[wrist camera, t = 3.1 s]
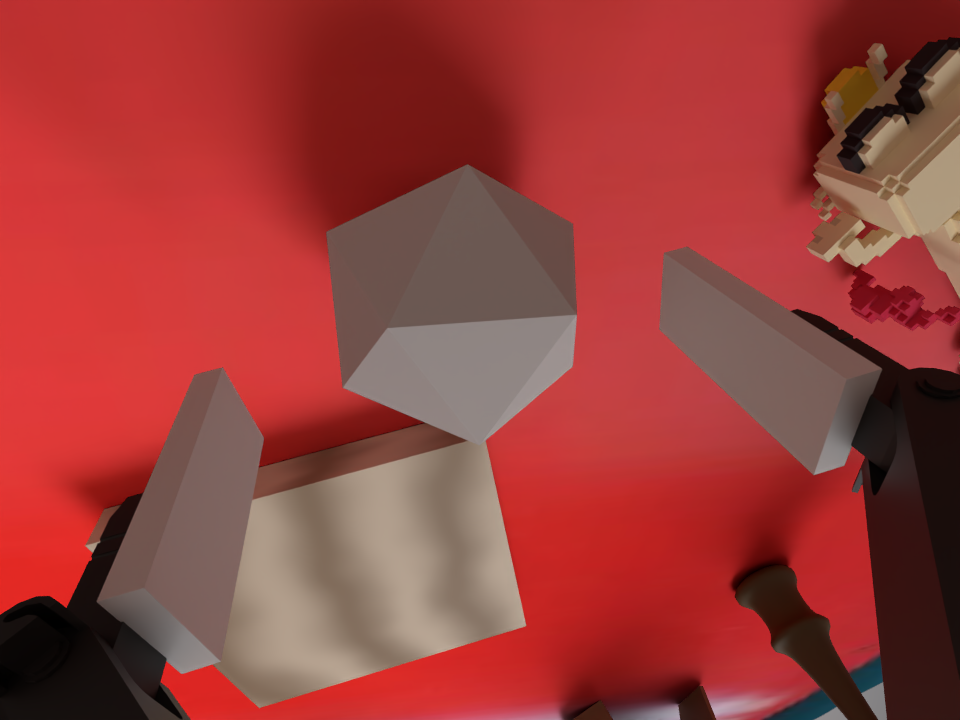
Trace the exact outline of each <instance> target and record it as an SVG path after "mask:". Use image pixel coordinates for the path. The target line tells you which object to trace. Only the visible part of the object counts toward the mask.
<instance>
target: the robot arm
mask: <svg viewBox="0 0 960 720" xmlns="http://www.w3.org/2000/svg"><path fill="white" fill-rule="evenodd" d="M659 330H660V331H661V332H663V333H664V334H665V335H666V336H667V337H668V338H669V339H670V340H671V341H672V342H673V343H674V344H675V345H676V346H677V347H678V348H679V349H681V350H682V351H683V352H684V353H685V354H686V355H687V356H688V357H689V358H690V359H691V360H692V361H693V362H694V363H695V364H696V365H697V366H699V367H700V368H701V369H702V370H703V371H704V372H705V373H706V374H707V375H708V376H709V377H710V378H711V379H712V380H713V381H714V382H715V383H717V384H718V385H719V386H720V387H721V388H722V389H723V390H724V391H725V392H726V393H727V394H728V395H729V396H730V397H731V398H732V399H734V400H735V401H736V402H737V403H738V404H739V405H740V406H741V407H742V408H743V409H744V410H745V411H746V412H747V413H748V414H749V415H750V416H752V417H753V418H754V419H755V420H756V421H757V422H758V423H759V424H760V425H761V426H762V427H763V428H764V429H765V430H766V431H767V432H768V433H770V434H771V435H772V436H773V437H774V438H775V439H776V440H777V441H778V442H779V443H780V444H781V445H782V446H783V447H784V448H785V449H786V450H788V451H789V452H790V453H791V454H792V455H793V456H794V457H795V458H796V459H797V460H798V461H799V462H800V463H801V464H802V465H803V466H804V467H806V468H807V469H808V470H809V471H810V472H811V473H812V474H813V475H816V474H819V473H822V472H825V471H829V470H832V469H835V468H838V467H841V466H844V465H845V462H846V460H847V457H848V455H849V452H850V450H851V447H852V446H853V447H854V448H855V449H857V450H858V451H859V452H860V453H861V454H863V455H864V456H865V459H864V461H863V463H862V466H861V468H860V470H859V473H858V475H857V477H856V480H855V482H854V485H853V489H852V492H856V493H858V491H859V489H860V487H861V485H863V490H864V500H865V509H866V519H867V529H868V538H869V548H870V558H871V568H872V577H873V587H874V597H875V606H876V616H877V626H878V636H879V645H880V655H881V665H882V675H883V684H884V694H885V703H886V713H887V720H960V375H958V374H956V373H953V372H951V371H946V370H941V369H936V368H915V369H910V370H909V369H907V368H906V367H904V366H902V365H900V364H899V363H897V362H895V361H894V360H892V359H890V358H889V357H887V356H885V355H884V354H882V353H880V352H879V351H877V350H875V349H874V348H872V347H870V346H869V345H867V344H865V343H864V342H862V341H860V340H859V339H857V338H856V339H854V338H853V336H852V335H850V334H849V333H847V332H845V331H844V330H842V329H841V330H839V329H838V327H837V326H835V325H834V324H832V323H830V322H829V321H827V320H825V319H824V318H822V317H820V316H817V315H814V314H811V313H808V312H805V311H802V310H799V309H796V310H792V311H789V310H788V309H786V308H784V307H783V306H781V305H780V304H778V303H776V302H775V301H773V300H772V299H770V298H768V297H767V296H765V295H764V294H762V293H760V292H759V291H757V290H756V289H754V288H752V287H751V286H749V285H748V284H746V283H744V282H743V281H741V280H740V279H738V278H737V277H735V276H733V275H732V274H730V273H729V272H727V271H725V270H724V269H722V268H721V267H719V266H717V265H716V264H714V263H713V262H711V261H709V260H708V259H706V258H705V257H703V256H701V255H700V254H698V253H697V252H695V251H693V250H692V249H690V248H689V247H684V248H681V249H677V250H673V251H669V252H665V253H664V259H663V276H662V293H661V310H660V327H659ZM263 442H264V437H263V435H262V434H261V432H260V430H259V429H258V427H257V425H256V423H255V422H254V420H253V418H252V417H251V415H250V413H249V411H248V410H247V408H246V406H245V405H244V403H243V401H242V399H241V398H240V396H239V394H238V393H237V391H236V389H235V388H234V386H233V384H232V382H231V381H230V379H229V377H228V376H227V374H226V372H225V370H224V369H223V367H222V368H219V369H215V370H211V371H207V372H203V373H199V374H195V375H194V377H193V379H192V382H191V384H190V386H189V389H188V391H187V393H186V396H185V398H184V400H183V403H182V405H181V407H180V410H179V412H178V414H177V416H176V419H175V421H174V423H173V426H172V428H171V430H170V433H169V435H168V437H167V440H166V442H165V444H164V447H163V449H162V451H161V454H160V456H159V458H158V461H157V463H156V465H155V467H154V470H153V472H152V474H151V477H150V479H149V481H148V484H147V486H146V488H145V491H144V493H141V494H137V495H134V496H130V497H128V498H127V499H126V500H125V501H124V502H123V503H122V504H121V506H120V507H119V508H118V509H117V510H116V511H115V513H114V514H113V515H112V516H111V517H110V518H109V520H108V523H107V525H106V527H105V529H104V531H103V533H102V535H101V537H100V543H97V546H96V548H95V550H94V552H93V554H92V556H91V557H92V560H91V561H89V562H88V564H87V566H86V569H85V571H84V573H83V575H82V577H81V579H80V581H79V583H78V585H77V587H76V589H75V591H74V594H73V596H72V598H71V600H70V602H69V604H68V606H67V608H66V607H64V606H63V605H62V604H60V603H59V602H58V601H56V600H55V599H53V598H52V597H50V596H38V597H34V598H31V599H28V600H26V601H23V602H20V603H18V604H17V605H15V606H13V607H12V608H10V609H9V610H7V611H5V612H4V613H2V614H1V615H0V720H190V718H189V717H188V715H187V714H186V713H185V711H184V710H183V708H182V707H181V706H180V704H179V703H178V701H177V700H176V699H175V697H174V696H173V694H172V693H171V692H170V690H169V689H168V688H167V687H166V686H165V685H163V684H162V683H161V682H160V681H161V678H162V674H163V670H164V667H165V663H166V661H167V662H168V663H169V664H171V665H172V666H173V667H174V668H175V669H176V670H178V671H179V672H180V673H181V674H183V673H186V672H190V671H193V670H196V669H199V668H202V667H205V666H209V665H212V664H215V663H218V662H221V659H222V654H223V648H224V643H225V638H226V633H227V628H228V623H229V617H230V612H231V607H232V602H233V597H234V592H235V586H236V581H237V576H238V571H239V566H240V561H241V555H242V550H243V545H244V540H245V535H246V530H247V524H248V519H249V514H250V509H251V504H252V499H253V493H254V488H255V483H256V478H257V473H258V468H259V462H260V457H261V452H262V447H263Z"/></svg>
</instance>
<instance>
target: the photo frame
mask: <svg viewBox="0 0 960 720" xmlns="http://www.w3.org/2000/svg"><path fill="white" fill-rule="evenodd" d="M678 707H679V713H680V720H716V718H715V715H714V713H713V710H712V708H711V705H710V703H709V700H708V698H707V695H706V693H705V690H704V688H703V686H698V687H697V688H696V689H695V690H694V691H693V692H692V693H691V694H690V695H689V696H688V697H687V698H686V699H685V700H683V701H682V702H681V703H680V704H679V705H678ZM573 720H613V719H612V717H611V716H610V714H609V712H608V711H607V709H606V707H605V706H604V704H603V703H602V701H601V700H600V701H598V702H597V703H596V704H594V705H593V706H591V707H590V708H589V709H587V710H586V711H584V712H583V713H582V714H580V715H579V716H577V717H576V718H575V719H573Z"/></svg>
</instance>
